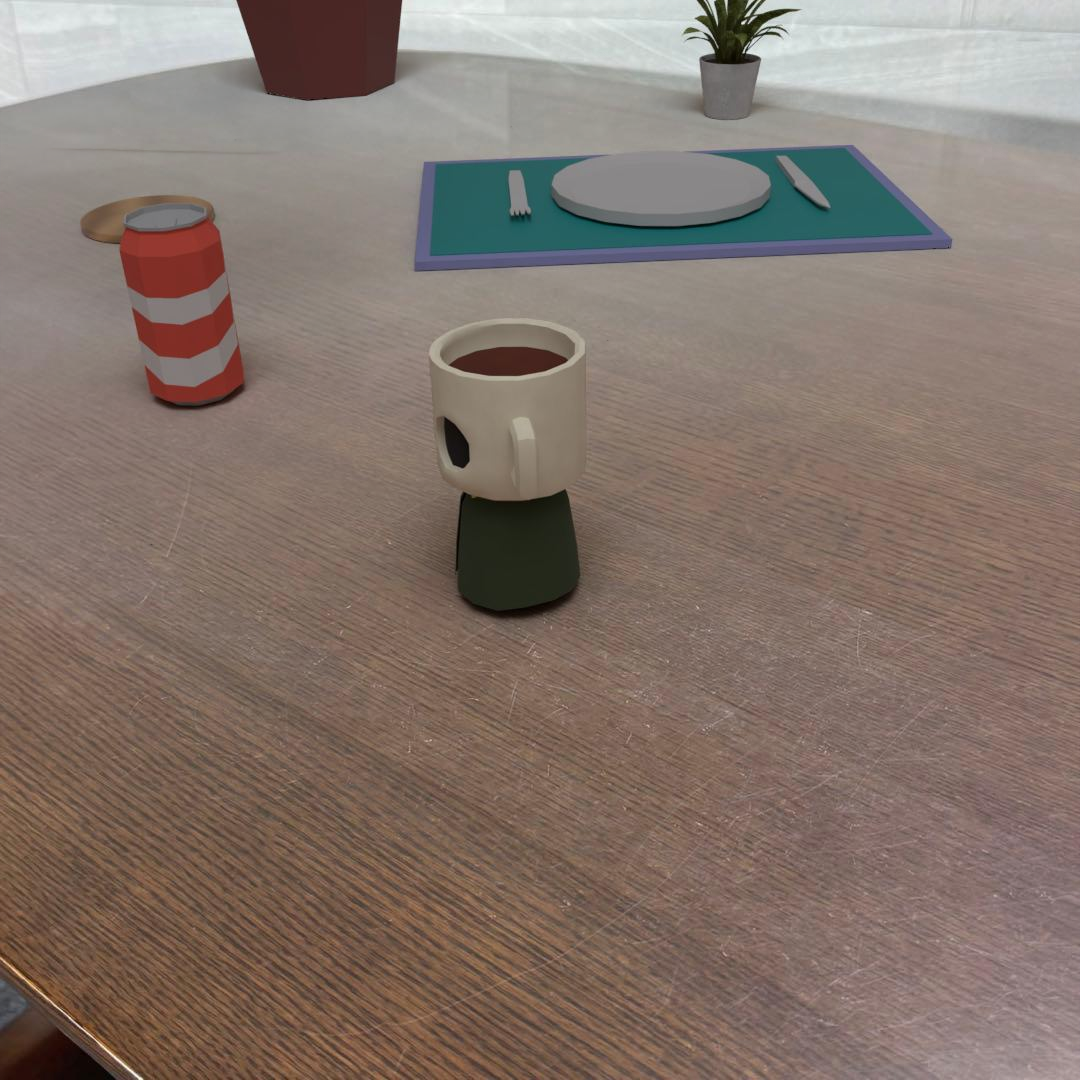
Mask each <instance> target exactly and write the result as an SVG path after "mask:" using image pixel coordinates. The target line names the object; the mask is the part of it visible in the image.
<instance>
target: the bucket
mask: <svg viewBox="0 0 1080 1080" xmlns="http://www.w3.org/2000/svg"><path fill="white" fill-rule="evenodd" d="M235 1H236V4H237V7H238V10H239V13H240V16H241V19H242V23H243V25H244V28H245V31H246V33H247V34H246V35H247V37H248V40H249V43H250V46H251V49H252V52H253V55H254V58H255V61H256V64H257V68H258V71H259V74H260V77H261V80H262V82H263V86H264V88H265V92H266V94H267V93H271V94H278V95H284V96H289V97H288V98H290V97H295V98H294V99H296V98H300V99H299V100H302V99H306V100H305V101H312V100H311V99H318V100H324V99H323V98H330V99H340V98H341V99H342V98H352V97H353V98H354V97H362V96H363V97H365V96H368V95H371V94H372V93H375V92H377V91H380V90H381V89H384V88H386V87H388V86H391V85H393V84H395V79H396V70H397V58H398V48H399V38H400V28H401V20H402V19H401V18H402V9H403V0H235ZM271 94H270V95H271Z"/></svg>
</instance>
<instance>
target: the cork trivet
mask: <svg viewBox="0 0 1080 1080" xmlns="http://www.w3.org/2000/svg"><path fill="white" fill-rule="evenodd" d="M163 203H193V204H196V205H200V206H203V207H206V209H207V216H208V217H209V219H210V220H211V221H212V222H214V219H215V217H216V216H215V210H214V206H213V204H211V202H209V201H207V200H205V199H203V198H200V197H195V196H189V195H180V194H159V195H147V196H146V195H145V196H139V197H137V196H136V197H132V198H126V199H121V200H117V201H114V202H109V203H106V204H103V205H101V206H98V207H96V208H93V209H91V210H90V211H88V212H87V213H86V214H84V215H83V216H82V217H81V219H80V223H79V224H80V228H81V232H82V234H83V235H84V236H85V237H87V238H89V239H92V240H94V241H98V242H102V243H111V244H120V243H121V239H122V236H123V233H124V230H125V227H124V225H123V220H124V215H126V214H128V213H130V212H132V211H134V210H137V209H139V208H141V207H147V206H152V205H158V204H163Z"/></svg>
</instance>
